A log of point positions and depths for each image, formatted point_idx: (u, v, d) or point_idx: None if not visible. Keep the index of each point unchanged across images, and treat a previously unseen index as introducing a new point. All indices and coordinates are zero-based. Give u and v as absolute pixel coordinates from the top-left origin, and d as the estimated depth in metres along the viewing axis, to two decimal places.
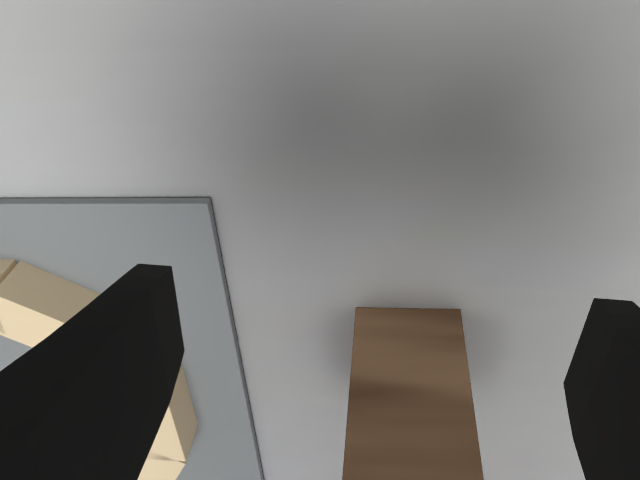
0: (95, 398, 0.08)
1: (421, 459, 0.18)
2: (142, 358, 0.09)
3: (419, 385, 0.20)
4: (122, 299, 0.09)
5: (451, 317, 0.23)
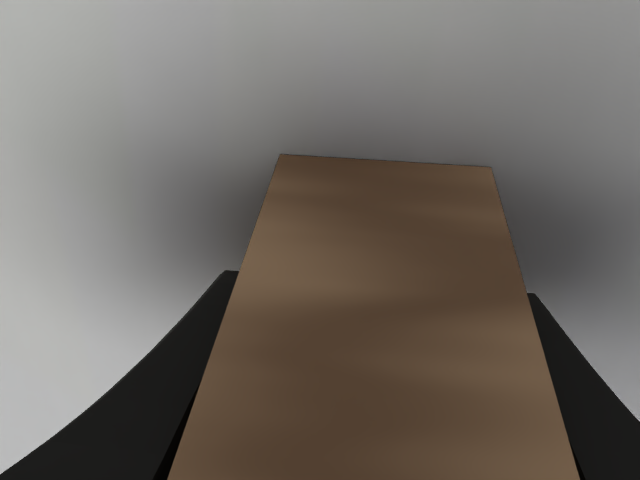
0: None
1: None
2: None
3: None
4: (222, 307, 0.09)
5: None
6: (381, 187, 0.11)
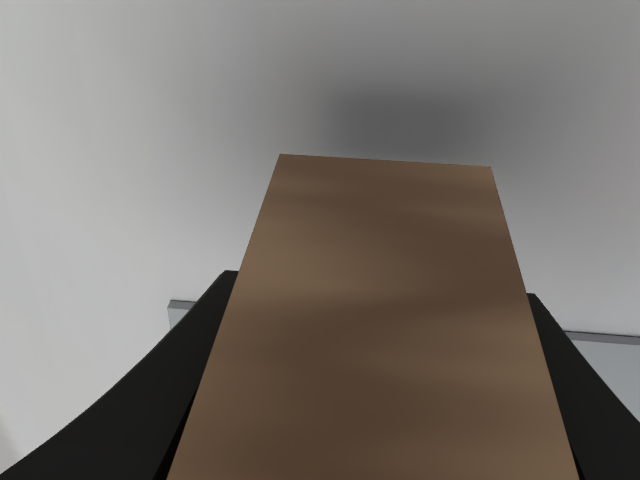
0: None
1: None
2: None
3: None
4: (222, 307, 0.09)
5: None
6: (381, 187, 0.11)
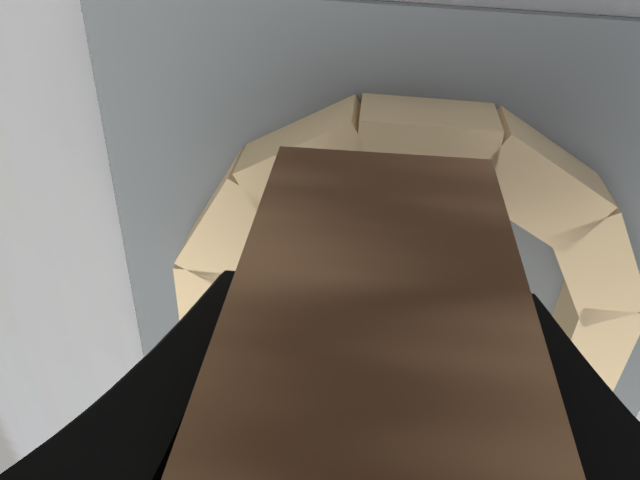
0: None
1: None
2: None
3: None
4: None
5: None
6: (381, 179, 0.11)
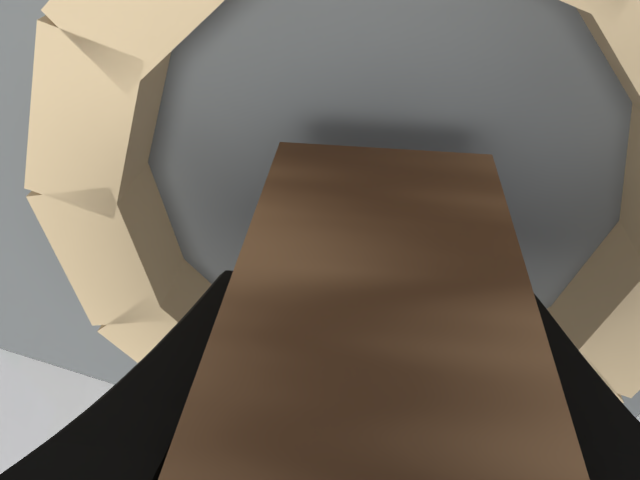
0: None
1: None
2: None
3: None
4: None
5: None
6: (381, 174, 0.11)
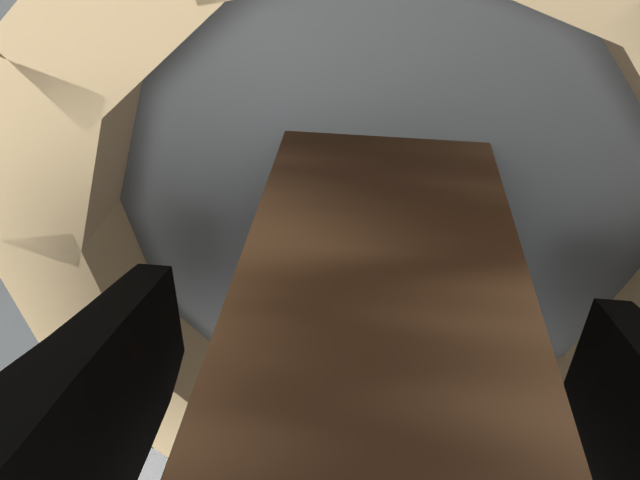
0: (95, 398, 0.08)
1: None
2: (142, 358, 0.09)
3: None
4: (122, 299, 0.09)
5: None
6: (383, 160, 0.11)
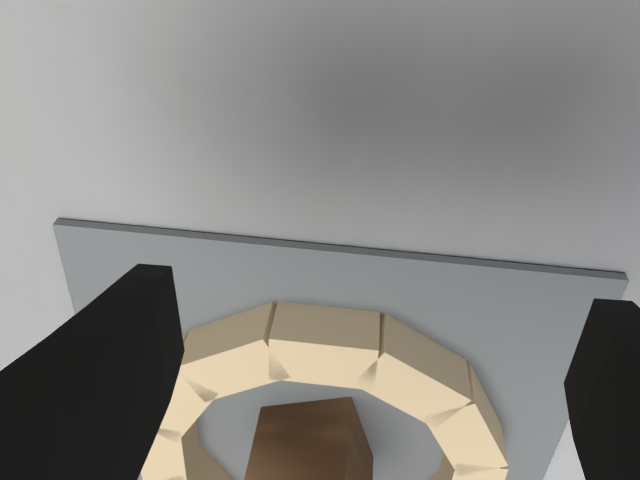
0: (95, 398, 0.08)
1: None
2: (142, 358, 0.09)
3: None
4: (122, 299, 0.09)
5: None
6: (301, 421, 0.25)
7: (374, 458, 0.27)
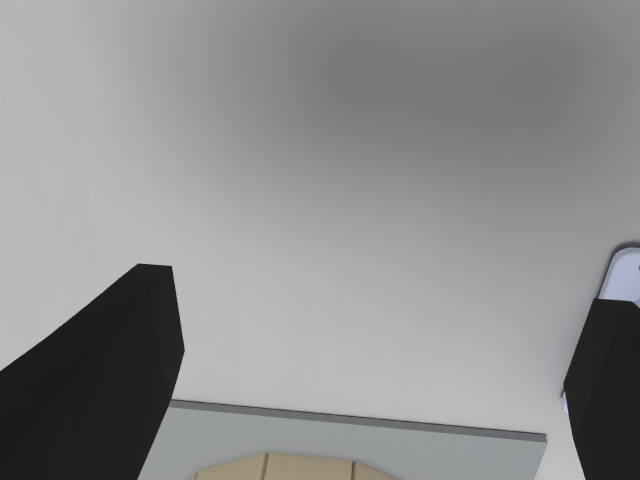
0: (95, 398, 0.08)
1: None
2: (142, 358, 0.09)
3: None
4: (122, 299, 0.09)
5: None
6: None
7: None
